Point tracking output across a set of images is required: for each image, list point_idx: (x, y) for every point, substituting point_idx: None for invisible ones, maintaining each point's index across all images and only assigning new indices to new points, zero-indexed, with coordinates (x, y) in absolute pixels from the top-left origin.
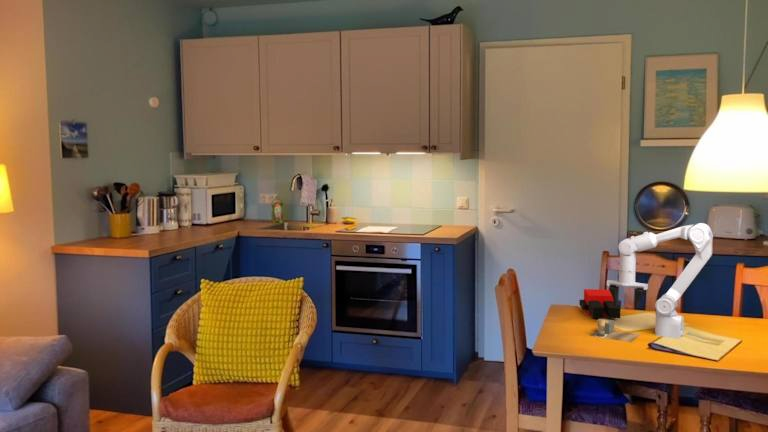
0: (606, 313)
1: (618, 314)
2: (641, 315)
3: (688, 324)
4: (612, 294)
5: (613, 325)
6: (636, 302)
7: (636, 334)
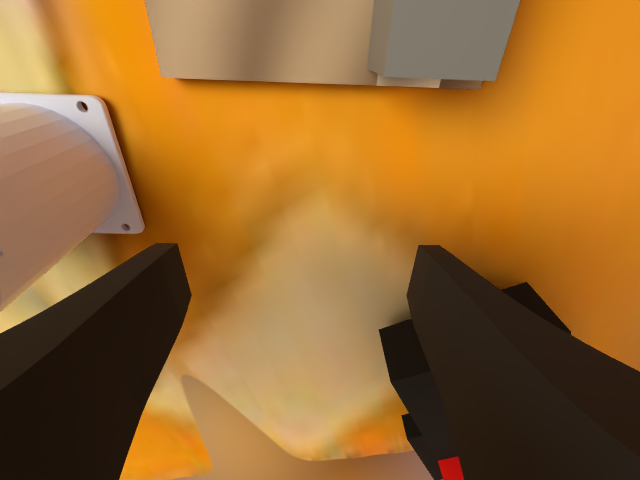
0: None
1: (392, 344)
2: (322, 424)
3: None
4: (583, 354)
5: (379, 40)
6: (107, 284)
7: (185, 55)
